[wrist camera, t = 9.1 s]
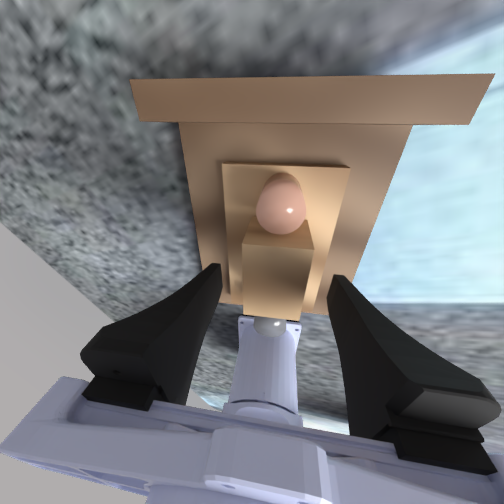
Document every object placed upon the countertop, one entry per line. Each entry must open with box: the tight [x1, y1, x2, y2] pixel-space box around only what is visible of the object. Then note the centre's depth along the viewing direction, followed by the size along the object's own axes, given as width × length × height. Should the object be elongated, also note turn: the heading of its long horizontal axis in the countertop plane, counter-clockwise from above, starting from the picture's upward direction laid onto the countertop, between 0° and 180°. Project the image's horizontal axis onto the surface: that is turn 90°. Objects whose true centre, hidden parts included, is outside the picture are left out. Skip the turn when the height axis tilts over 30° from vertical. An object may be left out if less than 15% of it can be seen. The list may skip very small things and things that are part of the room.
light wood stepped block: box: [129, 74, 495, 315], centre depth 15 cm, size 18×14×6 cm
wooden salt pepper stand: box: [222, 161, 351, 337], centre depth 14 cm, size 13×8×5 cm, turn 179°
